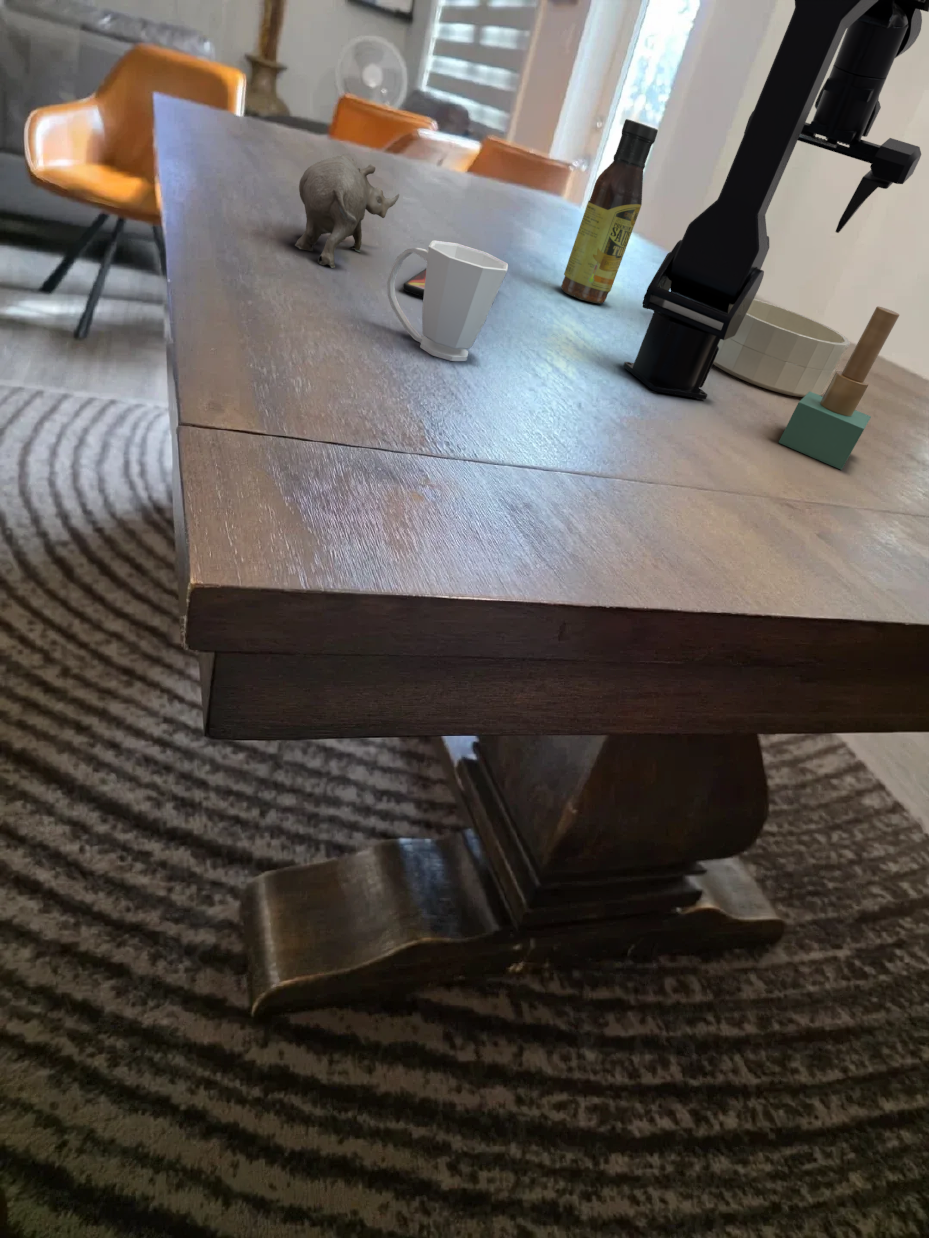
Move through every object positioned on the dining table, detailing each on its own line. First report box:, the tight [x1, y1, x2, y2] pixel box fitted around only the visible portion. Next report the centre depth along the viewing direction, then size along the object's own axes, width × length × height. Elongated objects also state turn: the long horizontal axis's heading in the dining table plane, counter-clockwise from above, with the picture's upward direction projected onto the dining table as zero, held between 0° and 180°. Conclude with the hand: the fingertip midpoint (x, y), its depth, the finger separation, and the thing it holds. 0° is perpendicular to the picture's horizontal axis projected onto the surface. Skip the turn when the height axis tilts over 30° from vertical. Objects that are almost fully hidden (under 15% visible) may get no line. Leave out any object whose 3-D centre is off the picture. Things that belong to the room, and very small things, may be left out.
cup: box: [386, 239, 509, 362], centre depth 72 cm, size 7×10×8 cm
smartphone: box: [402, 268, 426, 298], centre depth 92 cm, size 8×1×15 cm
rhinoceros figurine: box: [294, 154, 400, 269], centre depth 90 cm, size 8×14×15 cm
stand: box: [778, 392, 872, 471], centre depth 79 cm, size 6×6×4 cm
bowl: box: [712, 298, 851, 398], centre depth 99 cm, size 15×15×6 cm
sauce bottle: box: [560, 118, 659, 305], centre depth 104 cm, size 6×6×20 cm
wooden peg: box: [820, 305, 900, 416], centre depth 75 cm, size 3×3×9 cm
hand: (800, 219), depth 103 cm, fingers open, 9 cm apart
